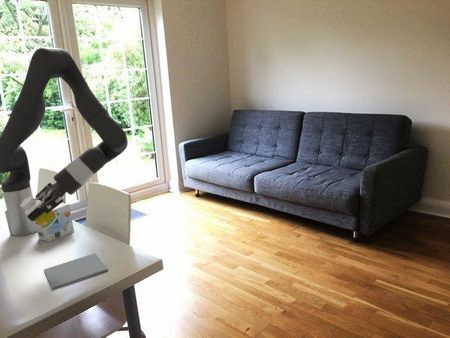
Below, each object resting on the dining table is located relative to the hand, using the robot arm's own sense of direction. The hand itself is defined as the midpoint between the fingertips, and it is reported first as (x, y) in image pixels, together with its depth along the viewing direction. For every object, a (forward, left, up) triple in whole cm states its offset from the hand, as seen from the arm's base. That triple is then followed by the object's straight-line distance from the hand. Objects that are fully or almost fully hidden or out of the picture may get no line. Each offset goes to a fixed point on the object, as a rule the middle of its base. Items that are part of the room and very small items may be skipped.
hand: (28, 215), depth 108 cm
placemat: (+12, -4, -17) cm, 21 cm away
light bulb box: (-5, +25, -17) cm, 31 cm away
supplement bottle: (+4, +3, -4) cm, 7 cm away
